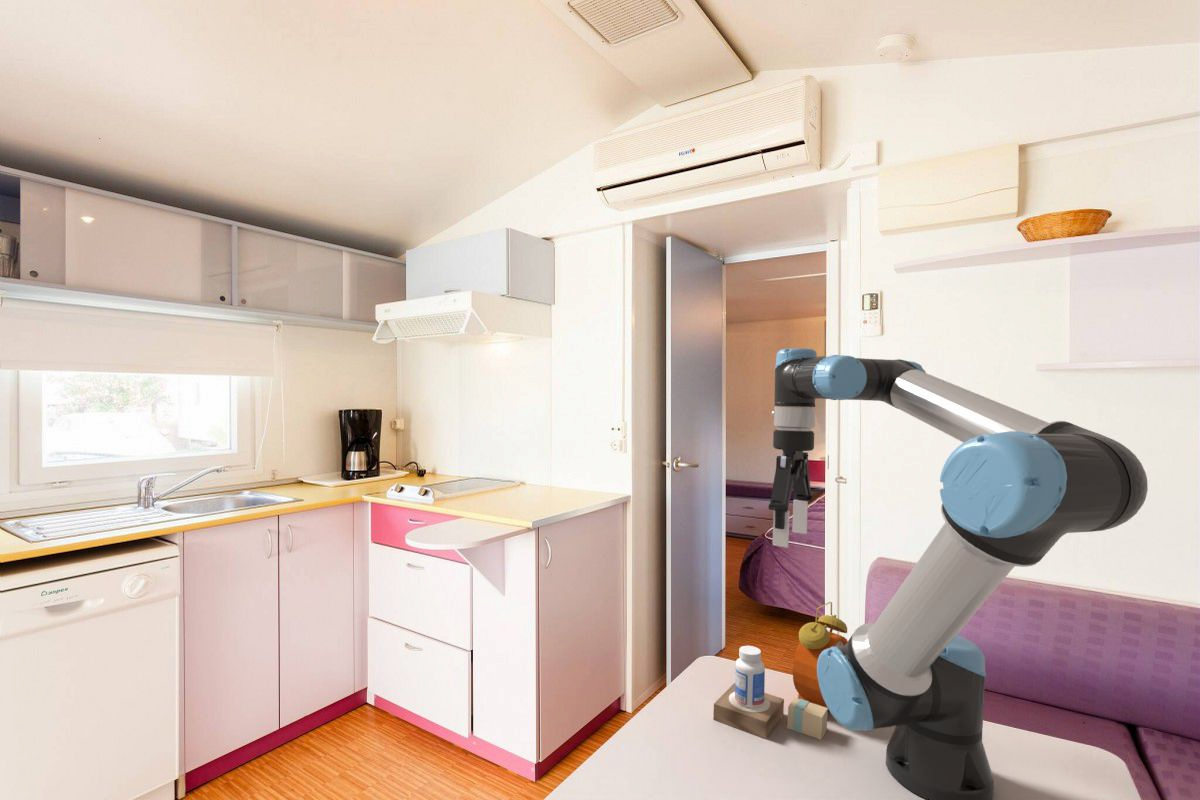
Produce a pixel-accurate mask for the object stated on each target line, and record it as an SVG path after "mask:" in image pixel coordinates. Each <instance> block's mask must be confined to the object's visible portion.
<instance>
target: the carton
mask: <svg viewBox="0 0 1200 800" xmlns="http://www.w3.org/2000/svg"><path fill="white" fill-rule="evenodd" d="M828 711H829V709H828V708H826V707H823V706H820V705H816V704H813V703H810V702H809V701H806V700H803V699H798V697H793V699H792V701H791V702H790V703H789V704H788V707H787V729H790V730H792V731H794V732H797V733H800V734H803V735H805V736H810V737H813V738H815V739H818V740H822V739H823V737H824V735H825V734H826V732H827V730H828Z"/></svg>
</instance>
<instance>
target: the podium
mask: <svg viewBox="0 0 1200 800" xmlns="http://www.w3.org/2000/svg"><path fill="white" fill-rule="evenodd" d="M784 707H785V698H783V697H779V696H776V695H773V694H770V693H766V692H764V704H763V705H762V706H760V707H757V708H749V707H745V706H742V705H740V704H739V703H738V702H737V701H736V700H735V682H733V684H732V685H730V687H728V688H727V690H726V691H725V692H724V693H723V694H721V696H720V697H719V698H717V700H716V701H715V702H714V703H713V717H712V718H713V720H714V721H716V722H718V723H719V722H720V724H721V723H722V724H725V725H727V726H730V727H732V728H734V729H738V730H740V731H744V732H746V733H749V734H751V735H753V736H757V737H759V738H762V739H767V738H768V737H769V735H770V734H771V732H772V731H773V729H775V727H776V725H777V724H778V723H779V722H780V721H781V719H782V718H783V716H784V713H785V711H784Z"/></svg>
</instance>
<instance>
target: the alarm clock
mask: <svg viewBox="0 0 1200 800" xmlns="http://www.w3.org/2000/svg"><path fill="white" fill-rule="evenodd" d="M829 604H830V615H829V614H822V615H821V616H819V618H818V612H819V611H818V610H819V609H820V608H823V607H825V606H827V605H829ZM827 628H828V629H829V630H828V629H827ZM833 631H837V632H839V633H843V634H848V627H847V624H846V623H845V622H844V621H843V620H842V619H840V618H838V617H837V615H836V614H833V602H832V601H829V602H826V603H824V604H823V605H820V606H819V607H816V609H815V621H813V622H812V621H811V622H807V623H805V624H803V626H801V628H800V629H799V631H798V640H799V642H798V645H797V646H796V650H795V654H794V658H793V665H792V666H793V667H792V681H793V685H794V688H795V690H796V692H797V693H798V695H797V698H798V699H803V700H806V701H809V702H810V703H813V704H816V705H820V706H823V707H826V708H828V707H827V705H826V703H825V701H824V699H823V696H822V694H821V690H820V687H819V682H818V677H817V662H818V658H819V655H820V654H821V652H822V651H823V650H825V649H828V648H830V647H834V646H835V647H837V648H838V647H842V646H844V645H845V644H846V643H847V642H848V639H847V638H846V637H844V636H843V635H842V634H841V635H840V634H838V633H835V632H833Z"/></svg>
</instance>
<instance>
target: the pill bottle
mask: <svg viewBox="0 0 1200 800" xmlns="http://www.w3.org/2000/svg"><path fill="white" fill-rule="evenodd" d="M738 651H739V652H738V656H739V658H737V659H736V661H735V665H734V666H735V669H734V670H735V671H734V676H735V677H734V683H735V700H736V701H737V702H738V703H739V704H740V705H742V706H745V707H749V708H757V707H760V706H762V705H763V704H764V693H765V687H766V686H765V681H766V679H765V675H766V673H765V672H766V670H765V664H764V663H763V661H762V660H761V659H762V651H761V649H760V648H758V647H756V646H753V645H742V646H740V647H739V650H738Z"/></svg>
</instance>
